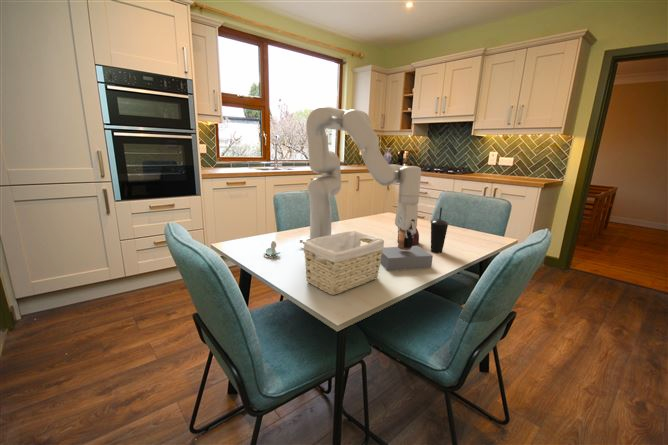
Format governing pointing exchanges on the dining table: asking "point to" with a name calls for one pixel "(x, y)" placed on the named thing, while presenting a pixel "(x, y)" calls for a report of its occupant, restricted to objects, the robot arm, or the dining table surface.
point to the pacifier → (271, 250)
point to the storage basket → (342, 260)
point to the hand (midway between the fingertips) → (404, 244)
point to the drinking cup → (438, 234)
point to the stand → (405, 258)
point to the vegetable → (415, 238)
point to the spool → (402, 240)
